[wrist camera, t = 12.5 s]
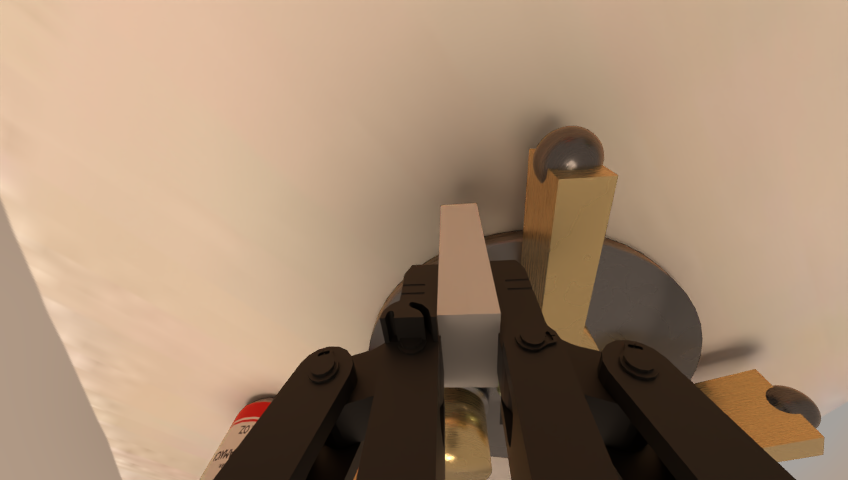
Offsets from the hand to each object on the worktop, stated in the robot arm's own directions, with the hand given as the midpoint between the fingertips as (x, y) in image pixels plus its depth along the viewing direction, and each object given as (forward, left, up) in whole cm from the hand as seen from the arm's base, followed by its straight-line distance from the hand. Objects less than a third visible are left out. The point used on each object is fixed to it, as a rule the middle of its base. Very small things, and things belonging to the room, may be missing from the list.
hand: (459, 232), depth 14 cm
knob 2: (-1, -5, -2) cm, 5 cm away
